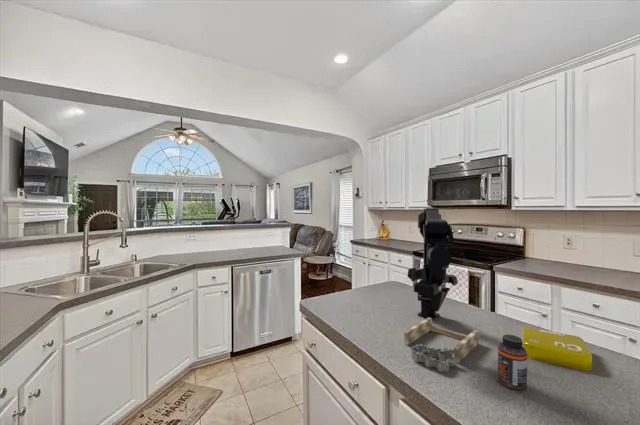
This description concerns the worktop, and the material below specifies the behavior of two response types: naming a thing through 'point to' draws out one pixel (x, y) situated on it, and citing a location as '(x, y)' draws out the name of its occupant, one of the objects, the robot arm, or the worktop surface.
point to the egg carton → (427, 354)
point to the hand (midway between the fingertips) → (436, 310)
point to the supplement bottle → (512, 363)
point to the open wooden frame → (426, 326)
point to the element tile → (557, 348)
